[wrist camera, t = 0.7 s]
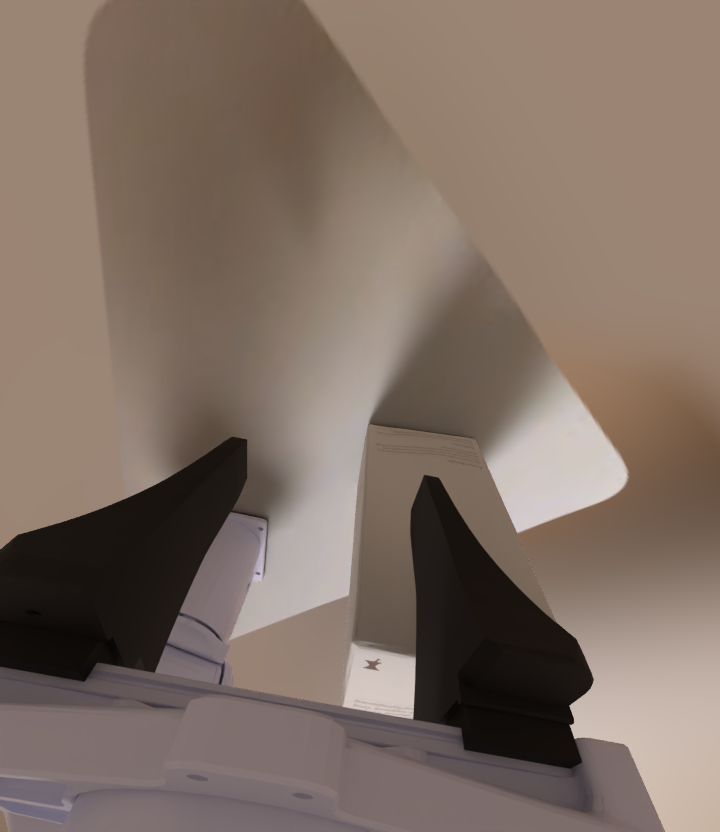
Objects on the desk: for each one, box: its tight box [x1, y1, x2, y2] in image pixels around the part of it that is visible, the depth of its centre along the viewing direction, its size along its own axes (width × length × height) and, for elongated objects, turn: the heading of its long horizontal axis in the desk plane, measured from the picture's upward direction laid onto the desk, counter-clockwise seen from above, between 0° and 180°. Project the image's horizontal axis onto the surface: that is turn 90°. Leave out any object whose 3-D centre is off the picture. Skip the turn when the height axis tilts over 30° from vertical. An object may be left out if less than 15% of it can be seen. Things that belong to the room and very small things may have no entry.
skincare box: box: [341, 424, 556, 718], centre depth 19 cm, size 8×6×15 cm
